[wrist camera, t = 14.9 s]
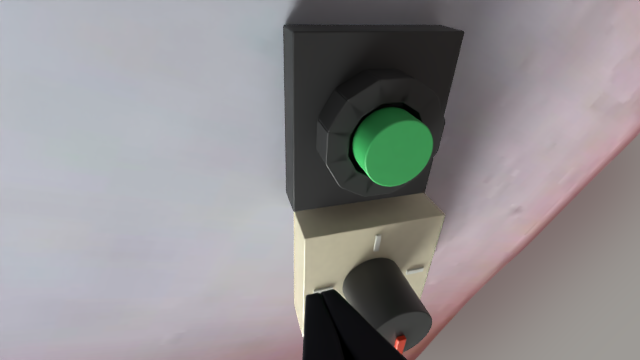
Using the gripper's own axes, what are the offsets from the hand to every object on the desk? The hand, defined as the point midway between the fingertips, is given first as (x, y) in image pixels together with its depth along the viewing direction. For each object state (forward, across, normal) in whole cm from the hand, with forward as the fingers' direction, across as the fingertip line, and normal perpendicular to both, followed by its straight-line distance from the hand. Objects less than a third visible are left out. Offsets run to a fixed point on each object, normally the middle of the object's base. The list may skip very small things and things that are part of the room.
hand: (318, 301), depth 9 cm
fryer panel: (+12, -7, +11) cm, 18 cm away
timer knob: (+9, -7, +11) cm, 16 cm away
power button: (+8, -6, 0) cm, 10 cm away
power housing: (+12, -6, 0) cm, 13 cm away
